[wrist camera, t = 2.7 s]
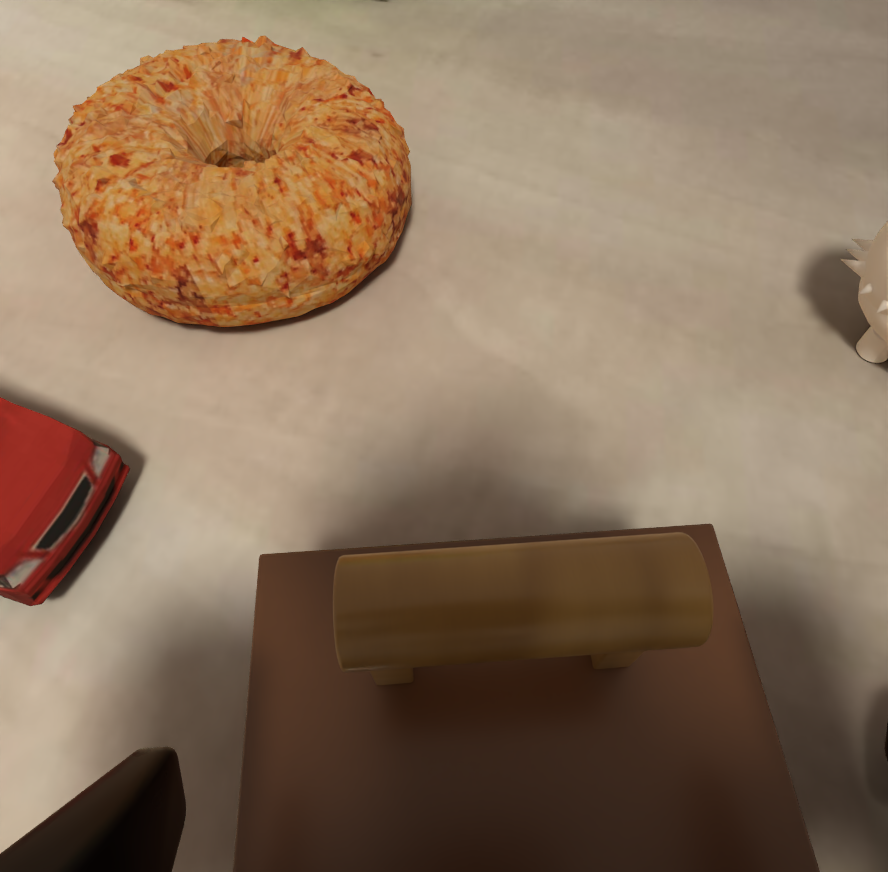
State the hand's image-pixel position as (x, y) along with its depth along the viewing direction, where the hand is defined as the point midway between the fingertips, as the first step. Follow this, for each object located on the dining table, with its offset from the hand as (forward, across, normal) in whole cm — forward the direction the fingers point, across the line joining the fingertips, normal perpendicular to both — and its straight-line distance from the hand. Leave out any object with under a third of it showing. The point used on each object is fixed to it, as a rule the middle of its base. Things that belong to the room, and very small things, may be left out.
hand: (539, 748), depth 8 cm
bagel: (+22, +8, -8) cm, 24 cm away
